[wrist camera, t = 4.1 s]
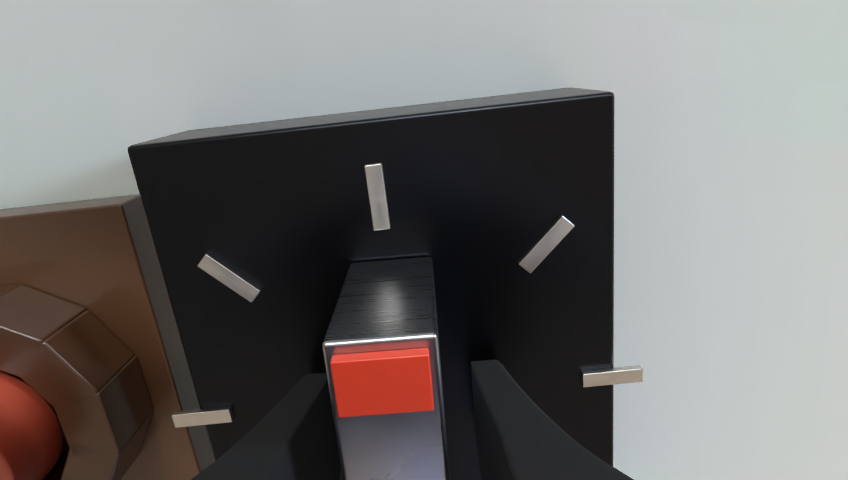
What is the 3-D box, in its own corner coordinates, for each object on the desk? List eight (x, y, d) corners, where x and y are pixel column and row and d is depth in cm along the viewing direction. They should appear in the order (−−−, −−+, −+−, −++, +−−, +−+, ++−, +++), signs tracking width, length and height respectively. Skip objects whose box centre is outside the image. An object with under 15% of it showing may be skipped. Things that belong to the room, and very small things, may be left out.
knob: (452, 509, 14) (465, 670, 10) (383, 513, 14) (370, 676, 10) (431, 255, 11) (438, 342, 8) (349, 261, 11) (317, 351, 8)
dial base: (599, 493, 17) (637, 582, 14) (264, 524, 18) (232, 618, 15) (597, 84, 13) (649, 88, 10) (163, 132, 14) (90, 150, 11)
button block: (227, 491, 17) (190, 575, 14) (-11, 514, 17) (-96, 601, 14) (145, 193, 14) (75, 224, 11) (-145, 224, 14) (-286, 263, 11)
